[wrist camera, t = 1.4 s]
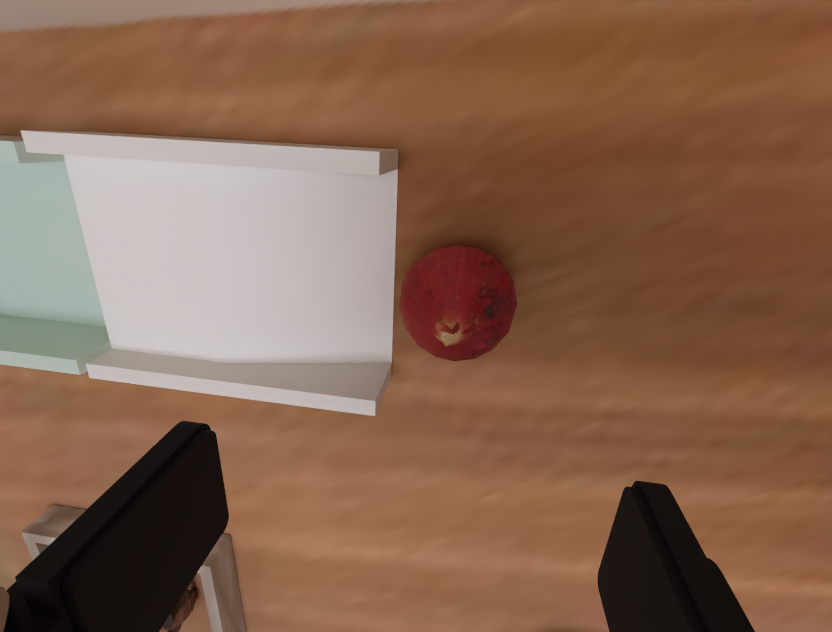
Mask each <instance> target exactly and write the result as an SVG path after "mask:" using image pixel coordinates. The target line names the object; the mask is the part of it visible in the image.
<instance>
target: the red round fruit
mask: <svg viewBox="0 0 832 632" xmlns="http://www.w3.org/2000/svg"><path fill="white" fill-rule="evenodd" d="M516 306H517V302H516V295H515V289H514V283H513V280H512V278H511V277H510V275H509V274H508V272H507V271H506V270H505V268H504V267H503V265H502V264H501V263H500V261H499V260H498V259H497V258H495V257H493V256H491V255H489V254H487V253H486V252H484V251H482V250H480V249H478V248H473V247H467V246H460V245H452V246H448V247H443V248H438V249H435V250H433V251H431V252H430V253H428V254H427V255H425V256H424V257H422V258H421V259H420V260H418V261H417V262H415V263H414V264H413V266H412V267H411V269H410V271H409V272H408V274H407V275H406V277H405V279H404V280H403V282H402V291H401V299H400V310H401V314H402V317H403V321H404V324H405V327H406V329H407V331H408V332H409V334H410V335H411V336H412V338H413V339H414V340H415V342H416V343H417V344H418V346H420V347H421V348H423V349H424V350H426V351H428V352H429V353H431V354H432V355H434V356H436V357H439V358H443V359H448V360H452V361H459V360H468V359H475V358H477V357H479V356H481V355H483V354H485V353H487V352H489V351H491V350H492V349H493V348H495V346H496V345H497V344H498V343H499V342H500V341H501V340H502V339H503V338H504V336H505V335H506V334H507V333H508V332H509V329H510V326H511V323H512V320H513V316H514V313H515V310H516Z"/></svg>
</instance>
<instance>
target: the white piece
mask: <svg viewBox="0 0 832 632" xmlns="http://www.w3.org/2000/svg"><path fill="white" fill-rule="evenodd" d="M20 131H21V130H20ZM21 134H22V138H23V141H24V145H25V148H26V152H30V153H45V154H61V155H64V159H65V163H66V167H67V171H68V175H69V179H70V183H71V187H72V191H73V195H74V199H75V203H76V207H77V211H78V215H79V219H80V223H81V227H82V231H83V236H84V240H85V244H86V248H87V252H88V256H89V260H90V264H91V268H92V272H93V276H94V280H95V284H96V288H97V292H98V296H99V300H100V304H101V308H102V312H103V316H104V320H105V324H106V328H107V332H108V336H109V340H110V344H111V348H112V349H111V350H109V351H107V352H105V353H104V354H102V355H100V356H98V357H96V358H95V359H93V360H91V361H89V362H87V363H86V367H87V371H88V374H89V378H94V379H102V380H109V381H117V382H124V383H131V384H139V385H146V386H154V387H161V388H169V389H176V390H184V391H191V392H199V393H206V394H214V395H221V396H229V397H236V398H244V399H251V400H259V401H266V402H274V403H281V404H289V405H296V406H304V407H311V408H319V409H326V410H334V411H341V412H349V413H356V414H363V415H371V416H375V415H376V413H377V410H378V408H379V405H380V403H381V400H382V398H383V395H384V393H385V390H386V388H387V386H388V383H389V381H390V378H391V369H392V338H393V307H394V275H395V244H396V213H397V181H398V149H382V148H365V147H348V146H330V145H313V144H296V143H279V142H262V141H244V140H227V139H210V138H193V137H176V136H158V135H141V134H124V133H107V132H75V131H21Z"/></svg>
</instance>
